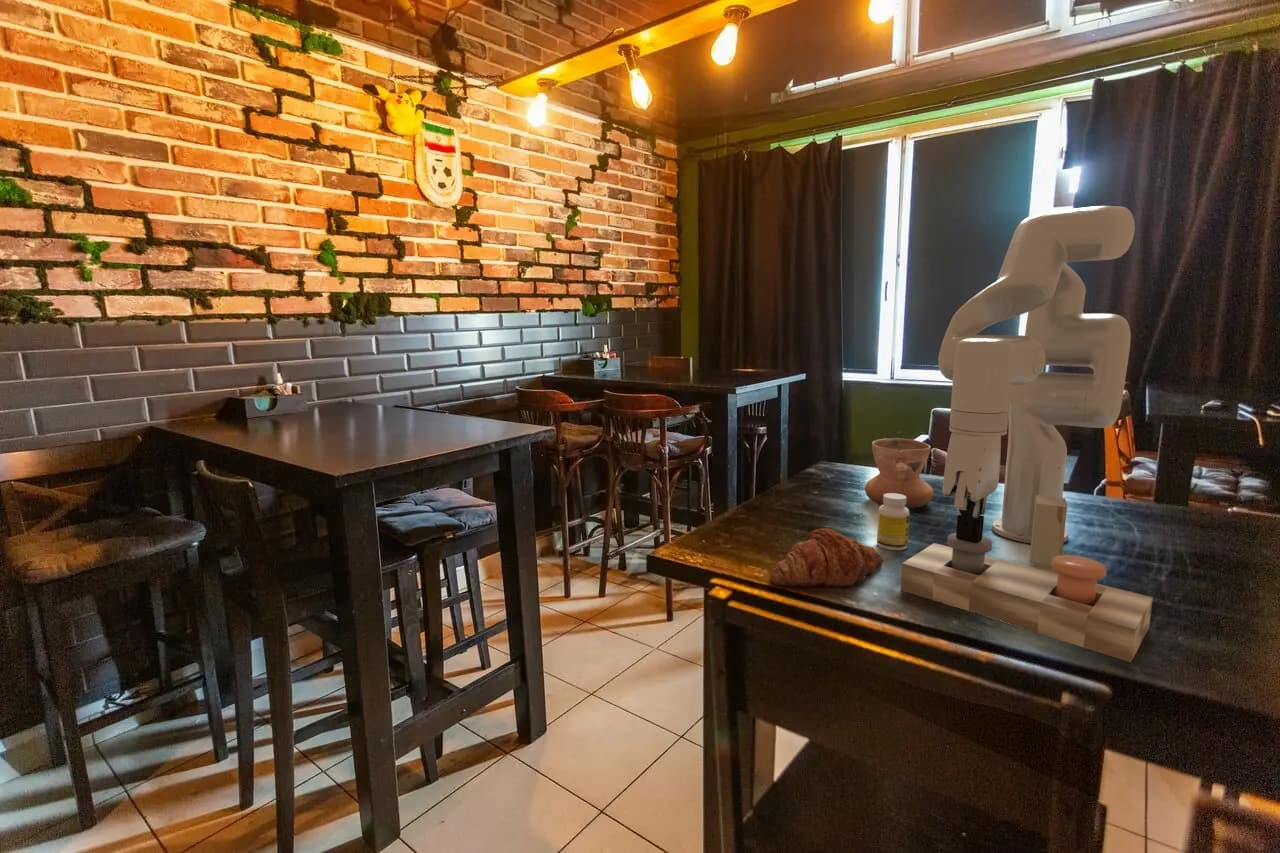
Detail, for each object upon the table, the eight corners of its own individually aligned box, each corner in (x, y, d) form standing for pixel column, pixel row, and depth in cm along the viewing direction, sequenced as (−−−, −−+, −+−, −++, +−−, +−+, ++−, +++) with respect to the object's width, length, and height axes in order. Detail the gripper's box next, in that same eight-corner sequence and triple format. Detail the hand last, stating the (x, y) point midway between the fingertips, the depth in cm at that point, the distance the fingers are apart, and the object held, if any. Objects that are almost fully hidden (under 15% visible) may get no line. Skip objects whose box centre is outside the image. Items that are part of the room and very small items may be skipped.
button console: (932, 567, 105) (934, 543, 104) (1148, 628, 84) (1152, 597, 83) (900, 589, 97) (902, 563, 96) (1130, 662, 76) (1135, 629, 75)
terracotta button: (1055, 587, 89) (1059, 551, 88) (1106, 600, 84) (1110, 563, 83) (1043, 601, 85) (1046, 563, 84) (1095, 615, 80) (1100, 576, 79)
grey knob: (954, 562, 99) (956, 529, 98) (994, 572, 95) (997, 539, 94) (939, 573, 95) (941, 539, 94) (980, 584, 91) (983, 549, 90)
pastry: (865, 606, 92) (867, 556, 91) (767, 586, 100) (767, 540, 99) (883, 566, 107) (885, 522, 105) (796, 551, 114) (797, 510, 113)
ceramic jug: (936, 518, 129) (940, 453, 127) (863, 512, 135) (866, 449, 132) (929, 494, 146) (933, 436, 143) (865, 490, 151) (867, 433, 149)
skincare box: (1060, 579, 99) (1068, 507, 97) (1029, 574, 101) (1035, 503, 99) (1058, 565, 104) (1066, 497, 102) (1029, 560, 107) (1035, 493, 105)
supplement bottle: (910, 552, 112) (913, 500, 110) (879, 550, 113) (881, 499, 111) (904, 541, 117) (906, 492, 115) (874, 540, 118) (876, 491, 116)
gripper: (970, 413, 98) (961, 523, 101) (931, 425, 88) (923, 546, 91) (1023, 418, 93) (1012, 534, 96) (987, 432, 83) (977, 560, 86)
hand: (968, 539), depth 94 cm, fingers closed
